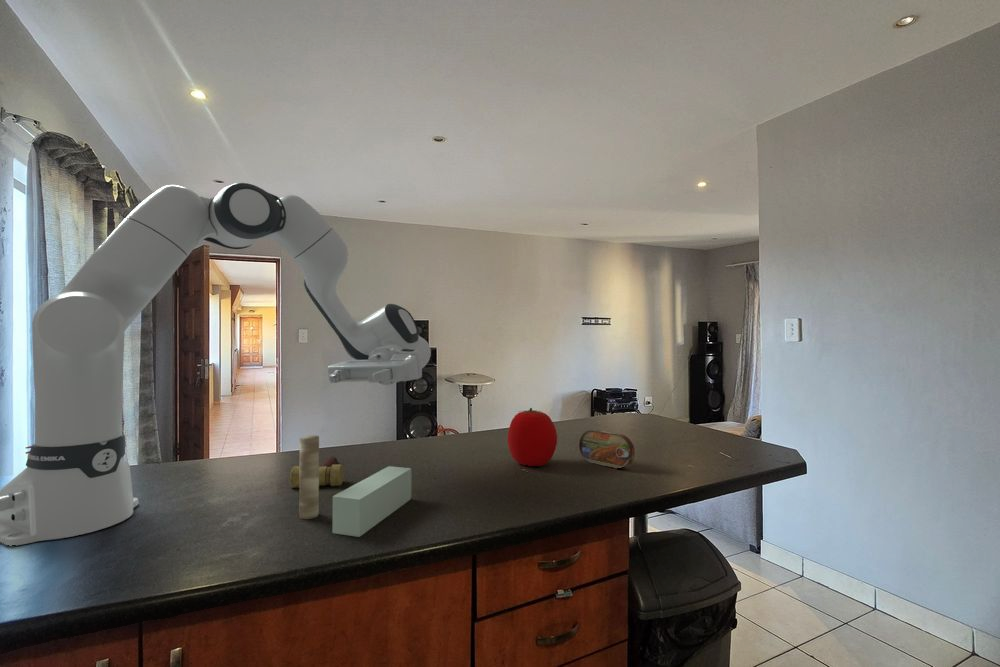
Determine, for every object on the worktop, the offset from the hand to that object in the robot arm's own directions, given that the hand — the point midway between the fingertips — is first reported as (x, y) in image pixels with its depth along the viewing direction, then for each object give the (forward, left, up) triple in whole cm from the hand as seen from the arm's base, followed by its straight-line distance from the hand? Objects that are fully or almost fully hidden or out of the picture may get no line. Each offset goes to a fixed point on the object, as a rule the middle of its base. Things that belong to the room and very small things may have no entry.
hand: (351, 379), depth 95 cm
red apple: (+31, +32, -23) cm, 50 cm away
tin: (+49, +37, -24) cm, 65 cm away
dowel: (0, -12, -23) cm, 26 cm away
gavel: (-13, +10, -24) cm, 29 cm away
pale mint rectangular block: (+11, -8, -23) cm, 27 cm away
